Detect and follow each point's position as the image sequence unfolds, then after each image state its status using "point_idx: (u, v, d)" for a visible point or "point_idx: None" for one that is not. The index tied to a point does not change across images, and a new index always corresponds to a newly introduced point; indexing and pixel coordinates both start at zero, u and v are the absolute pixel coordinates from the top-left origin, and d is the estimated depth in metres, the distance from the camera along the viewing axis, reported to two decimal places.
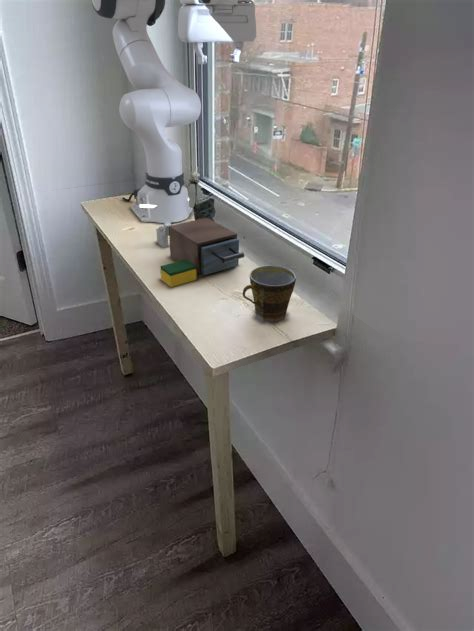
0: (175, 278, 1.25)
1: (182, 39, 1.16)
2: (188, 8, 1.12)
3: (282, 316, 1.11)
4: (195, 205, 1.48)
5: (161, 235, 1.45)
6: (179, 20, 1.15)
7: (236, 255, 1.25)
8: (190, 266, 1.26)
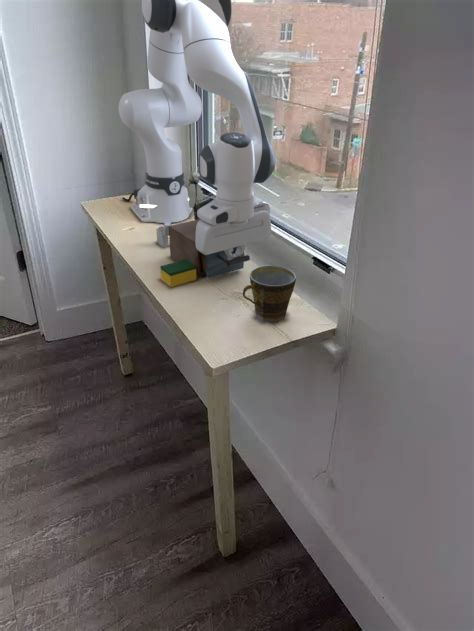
0: (175, 278, 1.25)
1: (199, 251, 1.18)
2: (206, 228, 1.14)
3: (282, 316, 1.11)
4: (195, 205, 1.48)
5: (161, 235, 1.45)
6: (197, 234, 1.17)
7: (241, 258, 1.24)
8: (190, 266, 1.26)
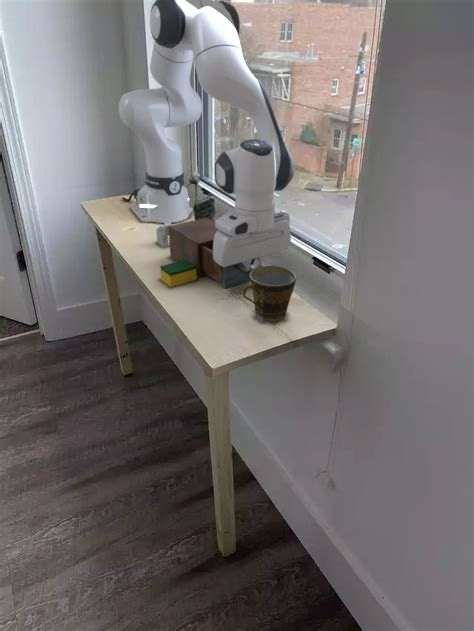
0: (175, 278, 1.25)
1: (217, 263, 1.13)
2: (225, 239, 1.09)
3: (282, 316, 1.11)
4: (195, 205, 1.48)
5: (161, 235, 1.45)
6: (214, 245, 1.12)
7: None
8: (190, 266, 1.26)
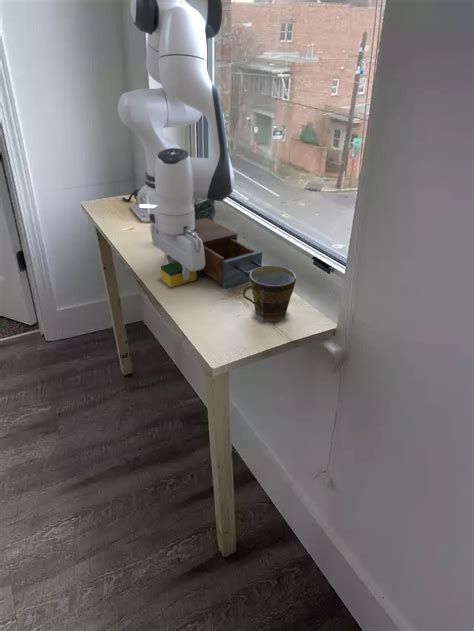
0: (175, 278, 1.25)
1: None
2: None
3: (282, 316, 1.11)
4: (195, 205, 1.48)
5: None
6: None
7: None
8: None
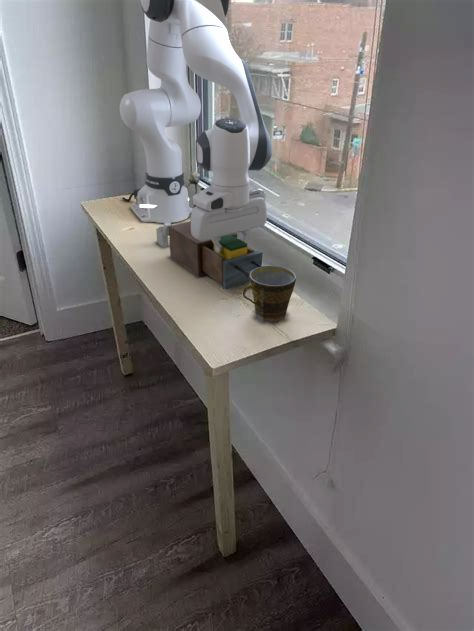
0: None
1: (195, 237, 1.18)
2: (201, 213, 1.14)
3: (282, 316, 1.11)
4: (195, 205, 1.48)
5: (161, 235, 1.45)
6: (192, 221, 1.17)
7: None
8: (231, 236, 1.27)
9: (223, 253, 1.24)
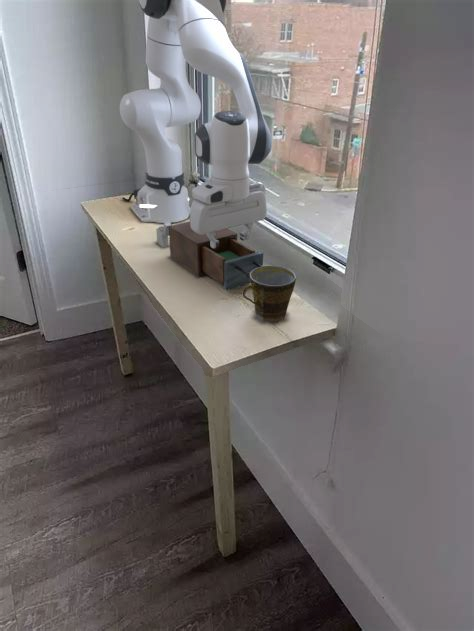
0: None
1: (194, 231, 1.17)
2: (201, 207, 1.13)
3: (282, 316, 1.11)
4: None
5: (161, 235, 1.45)
6: (191, 214, 1.16)
7: None
8: (230, 252, 1.29)
9: None
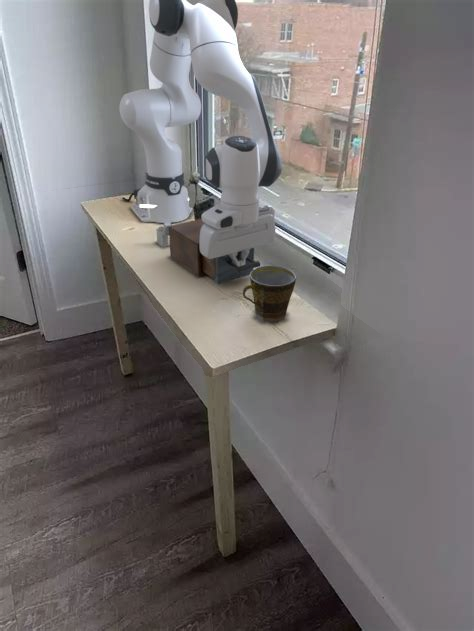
0: None
1: (203, 255, 1.17)
2: (210, 232, 1.13)
3: (282, 316, 1.11)
4: (195, 205, 1.48)
5: (161, 235, 1.45)
6: (201, 238, 1.16)
7: (252, 264, 1.21)
8: None
9: None
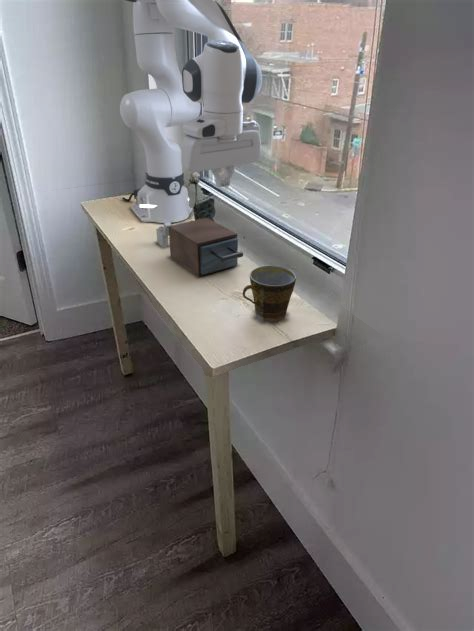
0: None
1: (185, 169, 1.12)
2: (192, 142, 1.09)
3: (282, 316, 1.11)
4: (195, 205, 1.48)
5: (161, 235, 1.45)
6: (182, 151, 1.11)
7: (235, 254, 1.25)
8: None
9: None
